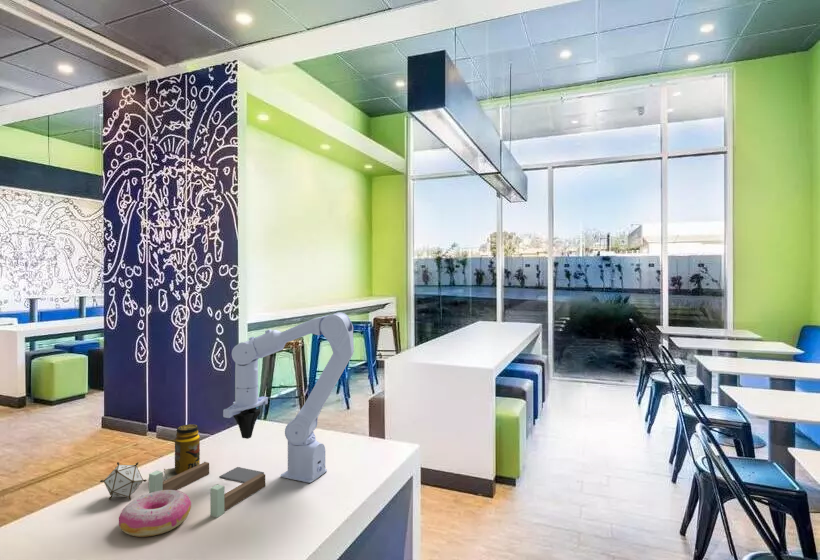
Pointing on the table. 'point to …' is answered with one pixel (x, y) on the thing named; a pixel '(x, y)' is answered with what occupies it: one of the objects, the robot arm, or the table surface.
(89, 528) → the table surface
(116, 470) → the game die
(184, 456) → the condiment
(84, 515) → the table surface
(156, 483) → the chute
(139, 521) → the donut
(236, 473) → the grey flat panel
